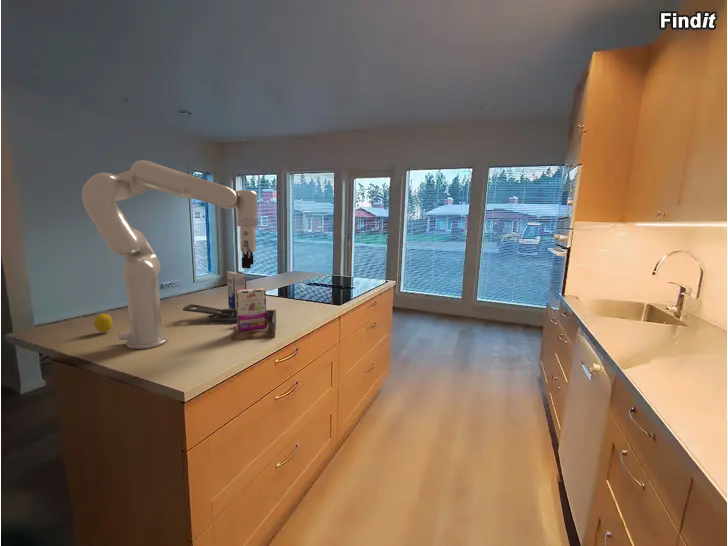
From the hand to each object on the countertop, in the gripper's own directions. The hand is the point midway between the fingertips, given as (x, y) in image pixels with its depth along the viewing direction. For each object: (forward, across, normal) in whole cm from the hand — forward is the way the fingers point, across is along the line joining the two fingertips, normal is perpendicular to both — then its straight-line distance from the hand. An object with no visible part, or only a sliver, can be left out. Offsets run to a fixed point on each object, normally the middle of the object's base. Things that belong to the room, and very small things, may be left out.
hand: (247, 266), depth 129 cm
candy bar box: (+26, 0, -1) cm, 26 cm away
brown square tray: (+27, 0, -3) cm, 27 cm away
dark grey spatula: (+28, +17, +16) cm, 37 cm away
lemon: (+28, +7, +54) cm, 62 cm away
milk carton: (+27, +32, +9) cm, 43 cm away
